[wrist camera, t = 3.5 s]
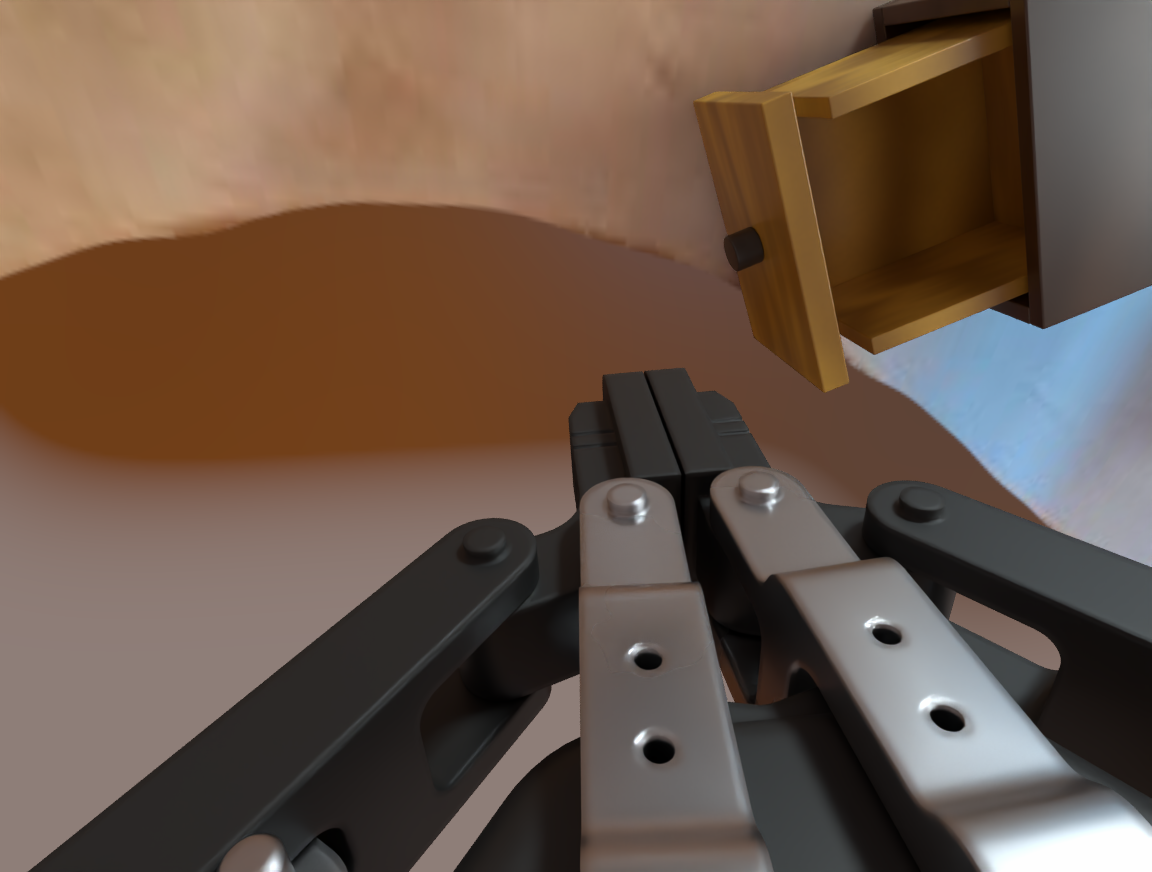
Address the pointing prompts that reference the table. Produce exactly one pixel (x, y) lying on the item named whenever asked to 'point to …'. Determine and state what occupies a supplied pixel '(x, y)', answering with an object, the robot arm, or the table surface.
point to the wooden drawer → (874, 193)
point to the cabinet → (1072, 144)
